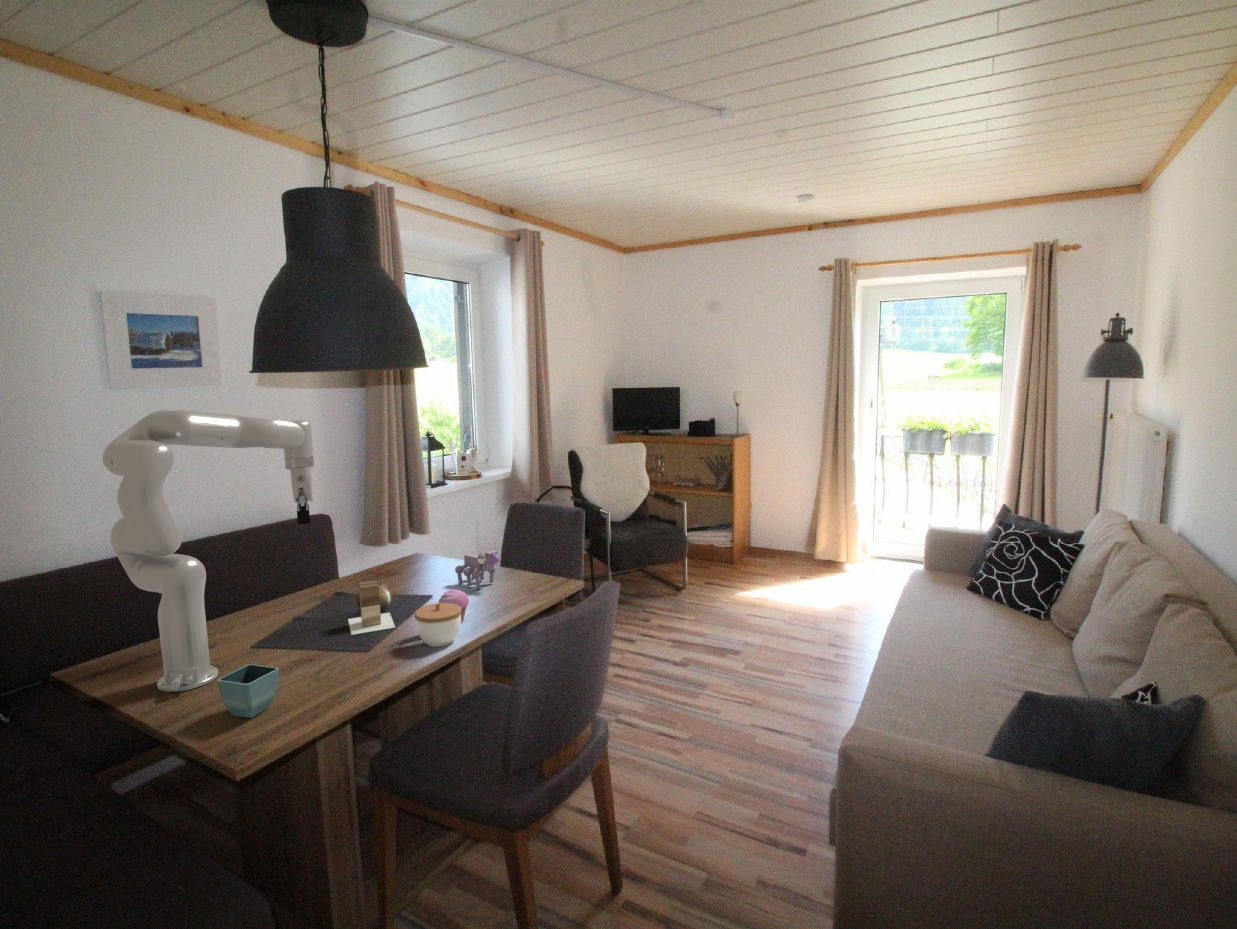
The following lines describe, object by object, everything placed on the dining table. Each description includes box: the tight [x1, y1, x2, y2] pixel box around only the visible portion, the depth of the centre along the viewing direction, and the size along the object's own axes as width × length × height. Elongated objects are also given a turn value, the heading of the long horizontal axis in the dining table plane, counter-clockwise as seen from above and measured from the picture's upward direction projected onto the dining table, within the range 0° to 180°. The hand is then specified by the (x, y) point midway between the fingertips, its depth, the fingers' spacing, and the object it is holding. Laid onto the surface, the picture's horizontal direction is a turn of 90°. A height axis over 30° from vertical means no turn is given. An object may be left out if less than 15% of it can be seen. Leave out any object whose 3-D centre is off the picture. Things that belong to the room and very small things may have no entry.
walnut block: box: [358, 580, 381, 608], centre depth 194 cm, size 5×5×6 cm
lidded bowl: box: [414, 602, 462, 648], centre depth 183 cm, size 13×13×11 cm
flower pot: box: [216, 663, 280, 719], centre depth 145 cm, size 9×9×9 cm
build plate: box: [347, 612, 396, 636], centre depth 195 cm, size 14×12×1 cm
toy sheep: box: [454, 549, 502, 590], centre depth 232 cm, size 20×11×14 cm, turn 54°
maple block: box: [359, 602, 381, 627], centre depth 195 cm, size 5×5×6 cm
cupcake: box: [437, 589, 470, 622], centre depth 197 cm, size 9×9×10 cm
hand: (303, 520), depth 192 cm, fingers open, 9 cm apart
